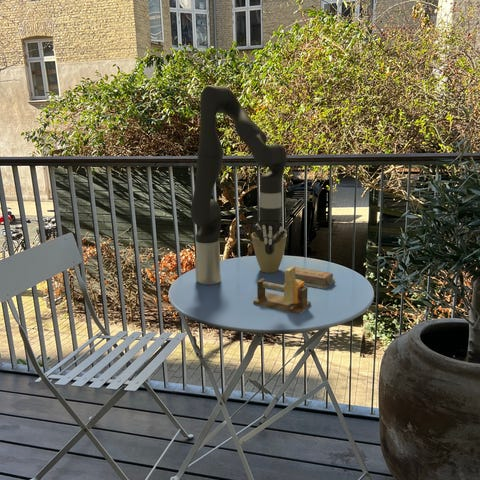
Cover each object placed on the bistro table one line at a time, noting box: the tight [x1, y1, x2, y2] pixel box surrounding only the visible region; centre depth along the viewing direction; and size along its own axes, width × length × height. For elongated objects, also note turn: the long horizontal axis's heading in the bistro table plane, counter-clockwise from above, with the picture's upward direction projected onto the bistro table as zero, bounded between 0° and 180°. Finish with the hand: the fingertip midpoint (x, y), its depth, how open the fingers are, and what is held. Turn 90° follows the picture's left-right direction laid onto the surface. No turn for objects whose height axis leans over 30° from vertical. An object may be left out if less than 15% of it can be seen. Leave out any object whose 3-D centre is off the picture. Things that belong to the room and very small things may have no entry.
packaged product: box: [283, 266, 336, 290], centre depth 181 cm, size 18×5×10 cm
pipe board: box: [253, 277, 312, 315], centre depth 159 cm, size 18×9×8 cm, turn 58°
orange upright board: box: [293, 281, 305, 304], centre depth 155 cm, size 1×6×6 cm, turn 148°
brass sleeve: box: [283, 265, 301, 304], centre depth 156 cm, size 4×6×11 cm, turn 148°
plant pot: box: [251, 230, 288, 274], centre depth 193 cm, size 15×15×16 cm
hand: (269, 253), depth 158 cm, fingers closed
